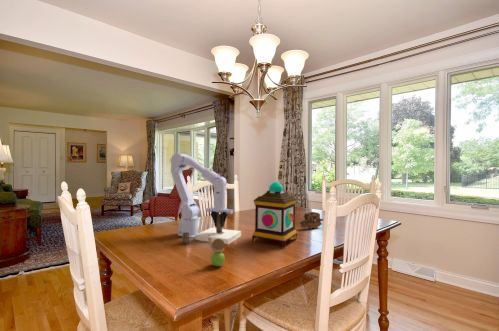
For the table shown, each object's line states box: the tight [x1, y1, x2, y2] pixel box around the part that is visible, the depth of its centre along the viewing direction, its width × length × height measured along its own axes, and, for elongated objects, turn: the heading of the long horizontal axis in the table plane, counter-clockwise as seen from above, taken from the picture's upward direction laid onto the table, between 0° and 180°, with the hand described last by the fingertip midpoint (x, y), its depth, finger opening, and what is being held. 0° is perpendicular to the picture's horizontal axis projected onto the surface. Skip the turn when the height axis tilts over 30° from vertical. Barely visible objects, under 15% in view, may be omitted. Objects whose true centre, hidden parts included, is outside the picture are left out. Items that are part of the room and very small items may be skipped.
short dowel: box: [182, 232, 190, 246], centre depth 125 cm, size 3×3×5 cm
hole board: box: [195, 227, 242, 245], centre depth 136 cm, size 18×16×2 cm
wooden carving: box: [299, 211, 324, 229], centre depth 158 cm, size 16×5×10 cm, turn 120°
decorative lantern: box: [251, 180, 298, 249], centre depth 132 cm, size 20×20×30 cm
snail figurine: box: [208, 234, 226, 267], centre depth 99 cm, size 5×6×12 cm
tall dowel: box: [215, 213, 223, 233], centre depth 136 cm, size 3×3×9 cm
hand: (219, 226), depth 136 cm, fingers closed on tall dowel, 3 cm apart
